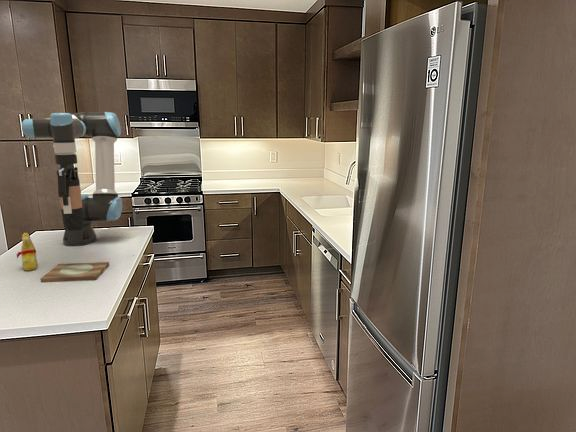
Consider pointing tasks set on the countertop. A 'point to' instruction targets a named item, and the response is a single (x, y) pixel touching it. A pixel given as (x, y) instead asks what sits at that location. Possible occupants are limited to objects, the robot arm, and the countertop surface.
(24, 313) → the countertop surface
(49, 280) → the walnut board
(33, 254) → the chocolate bunny
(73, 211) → the travel mug
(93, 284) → the countertop surface
